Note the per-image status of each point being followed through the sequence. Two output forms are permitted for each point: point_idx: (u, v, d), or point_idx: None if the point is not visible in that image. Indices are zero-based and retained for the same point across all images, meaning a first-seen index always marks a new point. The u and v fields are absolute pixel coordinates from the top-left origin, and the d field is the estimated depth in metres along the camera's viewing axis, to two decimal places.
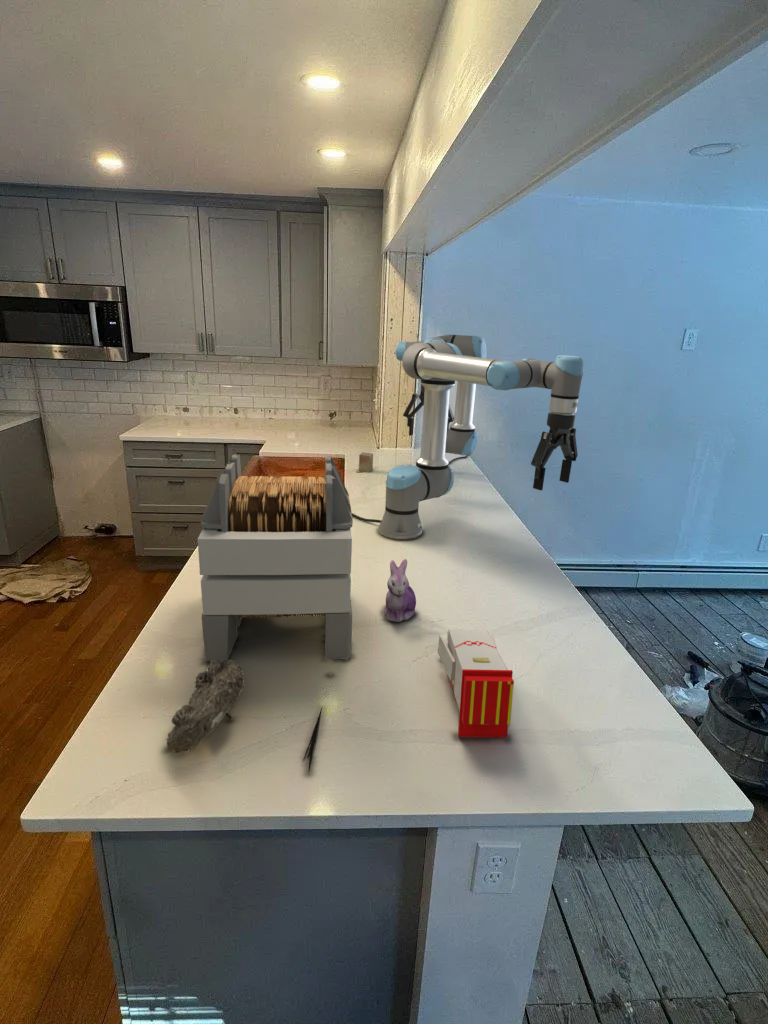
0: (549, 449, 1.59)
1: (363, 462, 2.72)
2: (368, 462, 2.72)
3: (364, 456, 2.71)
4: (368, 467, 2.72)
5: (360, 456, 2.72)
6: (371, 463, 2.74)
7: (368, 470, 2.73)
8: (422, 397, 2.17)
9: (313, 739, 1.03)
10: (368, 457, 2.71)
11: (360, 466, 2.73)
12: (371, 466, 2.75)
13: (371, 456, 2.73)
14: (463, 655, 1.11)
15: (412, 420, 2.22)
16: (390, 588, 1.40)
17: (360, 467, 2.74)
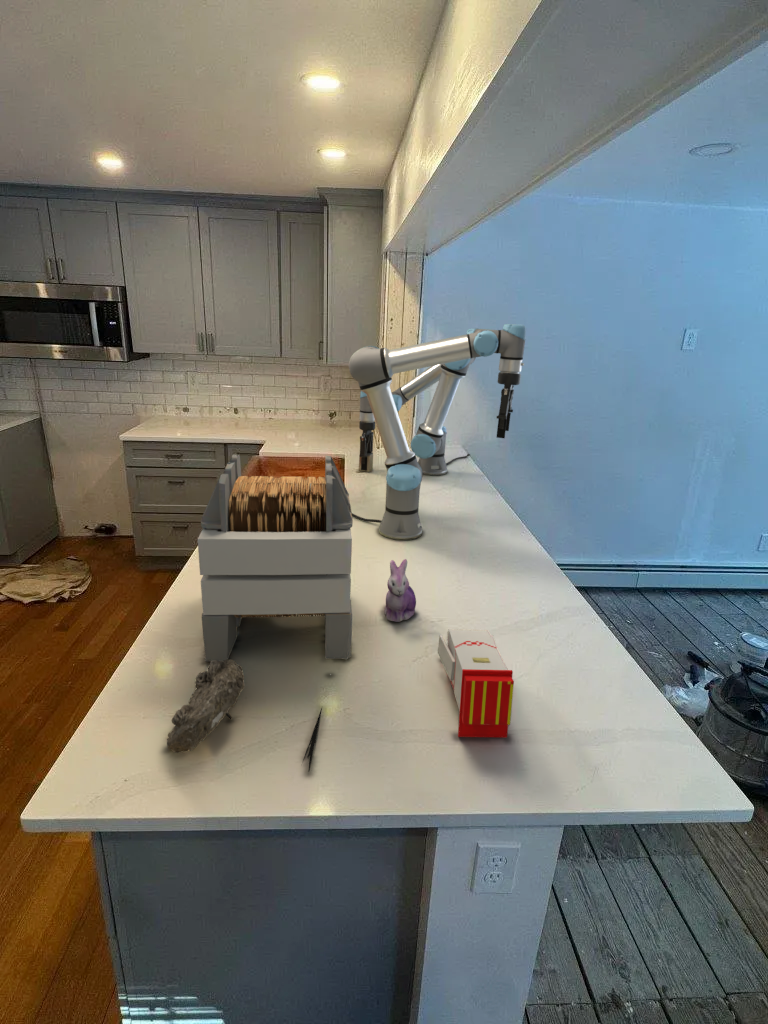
0: None
1: None
2: (368, 462, 2.72)
3: None
4: (368, 467, 2.72)
5: None
6: (371, 463, 2.74)
7: (368, 470, 2.73)
8: (367, 434, 2.67)
9: (313, 739, 1.03)
10: (368, 457, 2.71)
11: (360, 466, 2.73)
12: (371, 466, 2.75)
13: (371, 456, 2.73)
14: (463, 655, 1.11)
15: None
16: (390, 588, 1.40)
17: (360, 467, 2.74)
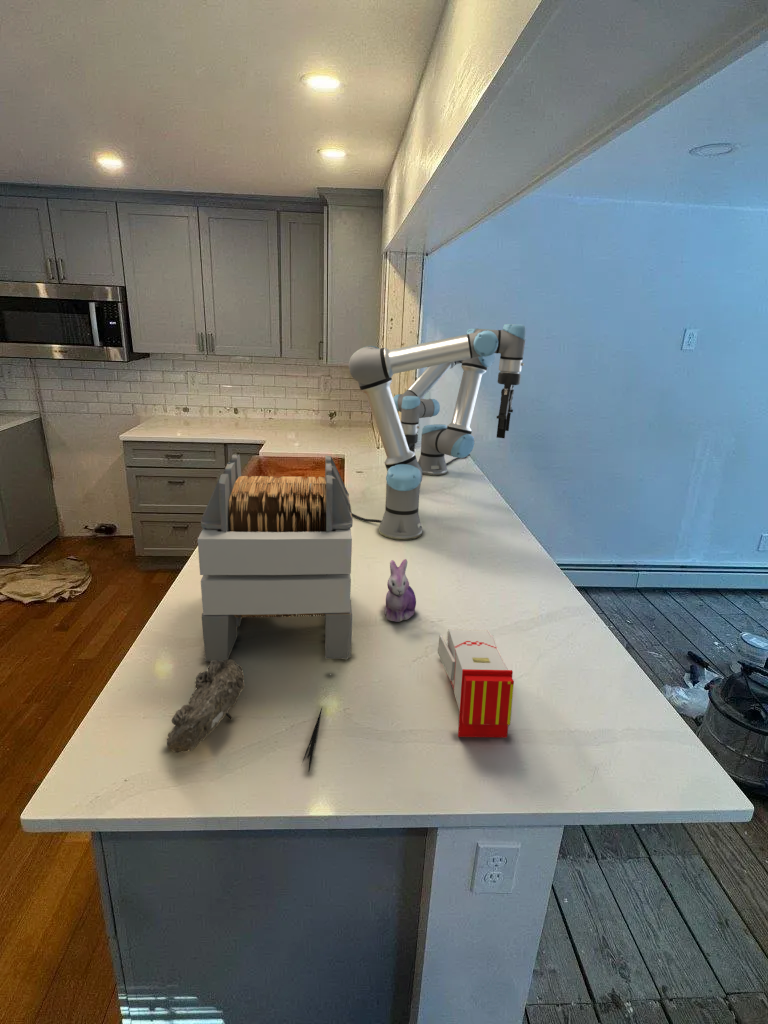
0: None
1: None
2: None
3: None
4: None
5: None
6: None
7: None
8: (409, 448, 2.40)
9: (313, 739, 1.03)
10: None
11: None
12: None
13: None
14: (463, 655, 1.11)
15: None
16: (390, 588, 1.40)
17: None
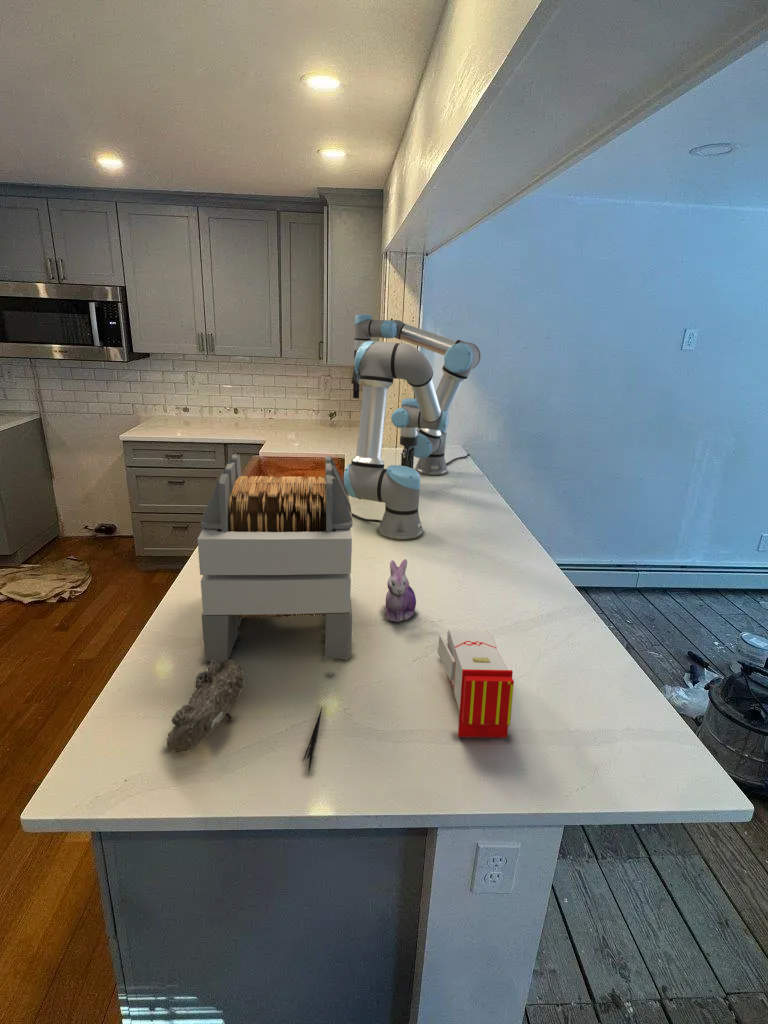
0: (407, 462, 2.42)
1: None
2: None
3: None
4: None
5: None
6: None
7: None
8: None
9: (313, 739, 1.03)
10: None
11: None
12: None
13: None
14: (463, 655, 1.11)
15: None
16: (390, 588, 1.40)
17: None
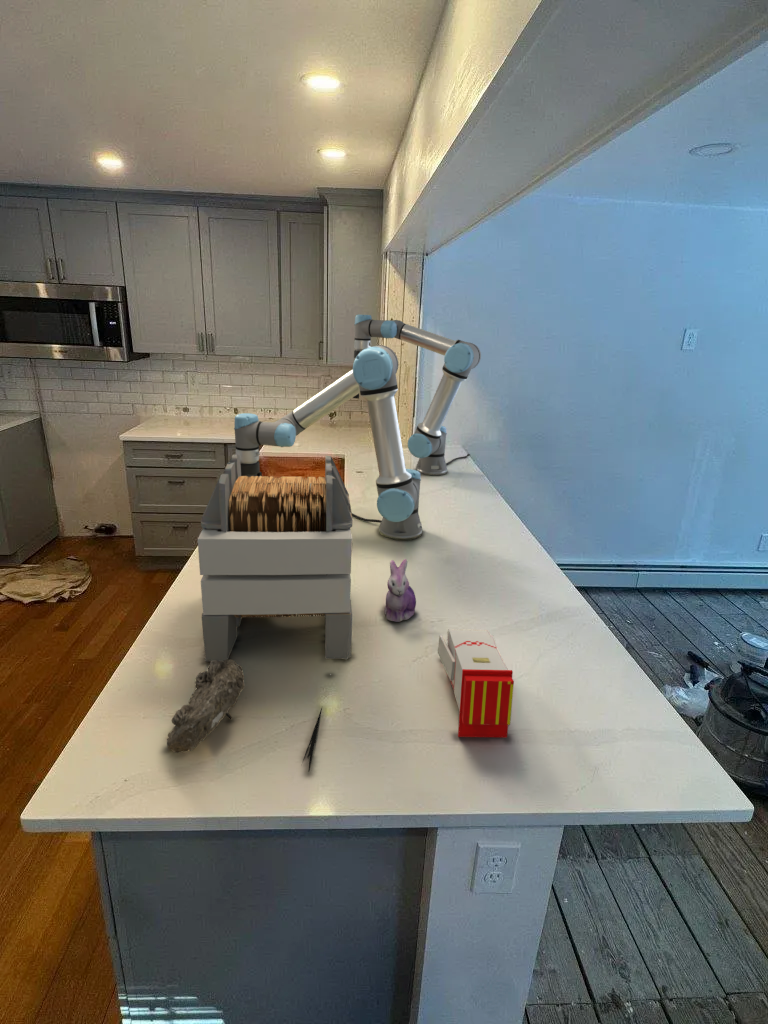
0: None
1: None
2: None
3: None
4: None
5: None
6: None
7: None
8: None
9: (313, 739, 1.03)
10: None
11: None
12: None
13: None
14: (463, 655, 1.11)
15: None
16: (390, 588, 1.40)
17: None
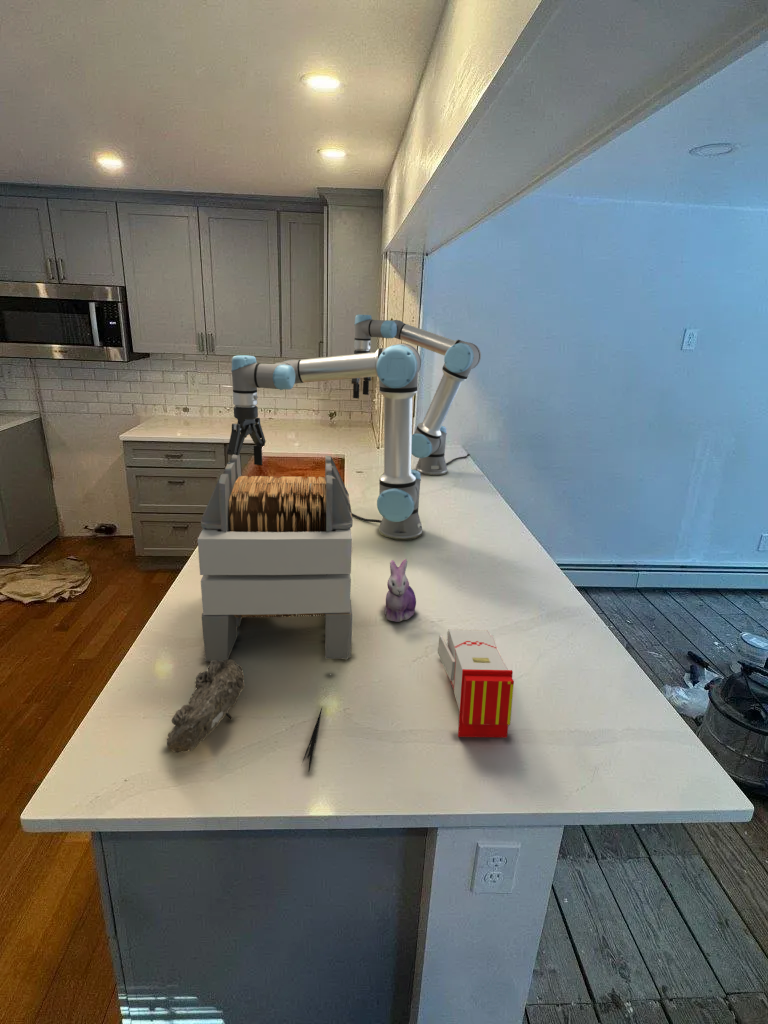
0: (240, 438, 1.80)
1: None
2: None
3: None
4: None
5: None
6: None
7: None
8: None
9: (313, 739, 1.03)
10: None
11: None
12: None
13: None
14: (463, 655, 1.11)
15: None
16: (390, 588, 1.40)
17: None
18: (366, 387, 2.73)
